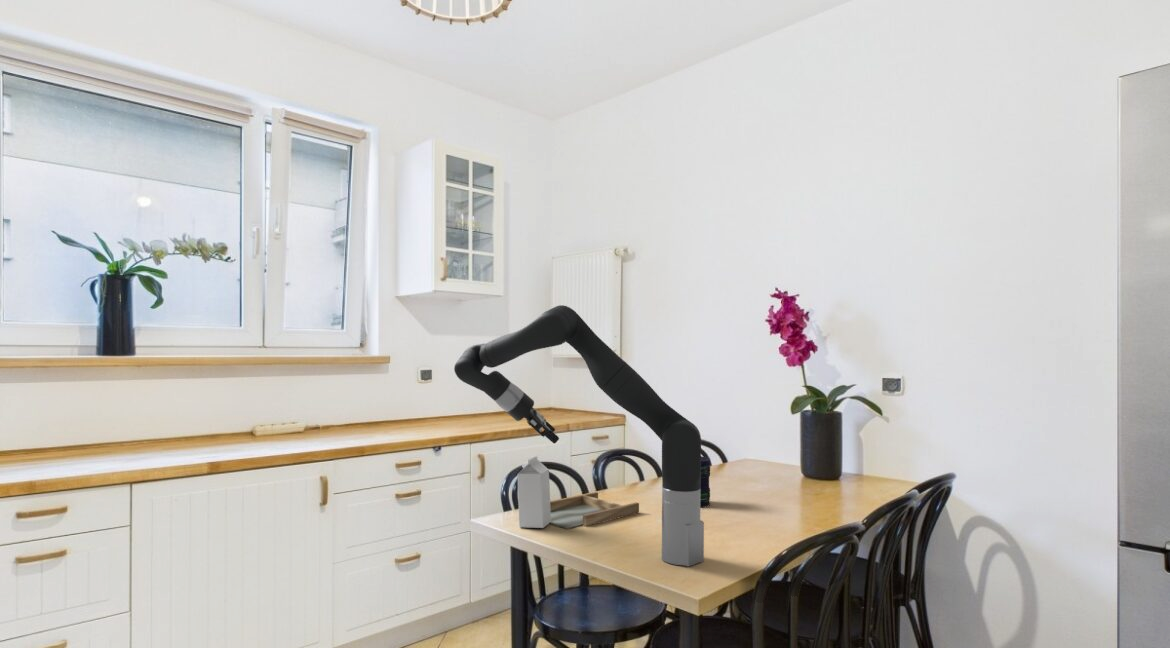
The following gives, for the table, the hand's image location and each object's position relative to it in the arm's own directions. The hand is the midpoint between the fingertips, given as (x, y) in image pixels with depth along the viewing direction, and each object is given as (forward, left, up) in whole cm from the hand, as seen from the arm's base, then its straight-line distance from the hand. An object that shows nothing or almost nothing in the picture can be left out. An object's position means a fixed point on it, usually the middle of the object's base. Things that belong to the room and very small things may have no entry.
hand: (555, 436), depth 181 cm
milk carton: (+1, +6, -25) cm, 26 cm away
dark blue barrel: (-13, -50, -25) cm, 57 cm away
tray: (+1, -13, -25) cm, 28 cm away
